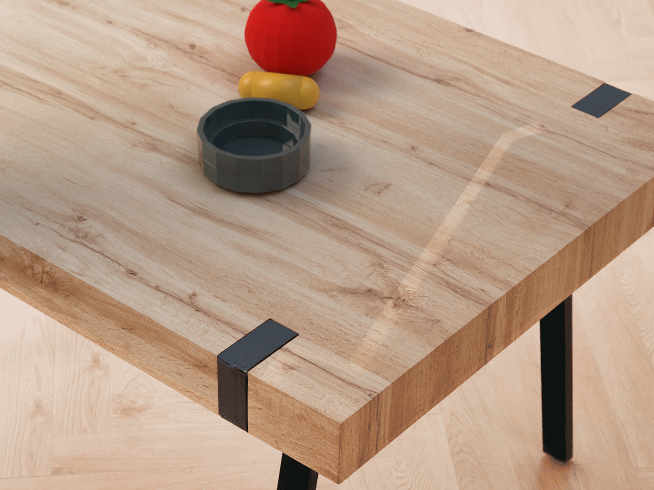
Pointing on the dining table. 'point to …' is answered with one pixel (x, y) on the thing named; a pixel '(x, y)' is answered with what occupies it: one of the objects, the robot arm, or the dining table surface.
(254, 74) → the yellow capsule
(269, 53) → the tomato
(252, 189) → the bowl
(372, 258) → the dining table surface
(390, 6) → the dining table surface
